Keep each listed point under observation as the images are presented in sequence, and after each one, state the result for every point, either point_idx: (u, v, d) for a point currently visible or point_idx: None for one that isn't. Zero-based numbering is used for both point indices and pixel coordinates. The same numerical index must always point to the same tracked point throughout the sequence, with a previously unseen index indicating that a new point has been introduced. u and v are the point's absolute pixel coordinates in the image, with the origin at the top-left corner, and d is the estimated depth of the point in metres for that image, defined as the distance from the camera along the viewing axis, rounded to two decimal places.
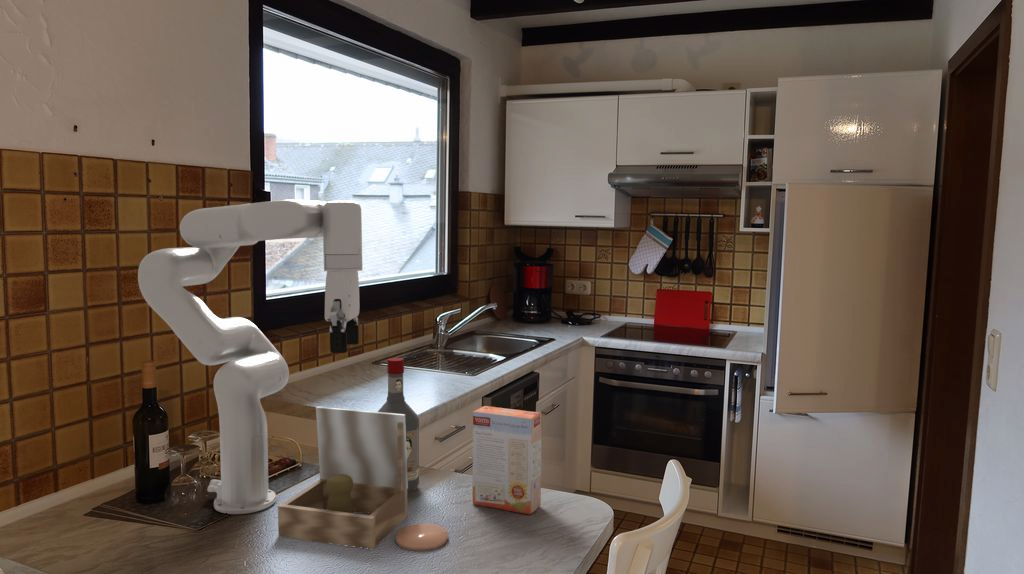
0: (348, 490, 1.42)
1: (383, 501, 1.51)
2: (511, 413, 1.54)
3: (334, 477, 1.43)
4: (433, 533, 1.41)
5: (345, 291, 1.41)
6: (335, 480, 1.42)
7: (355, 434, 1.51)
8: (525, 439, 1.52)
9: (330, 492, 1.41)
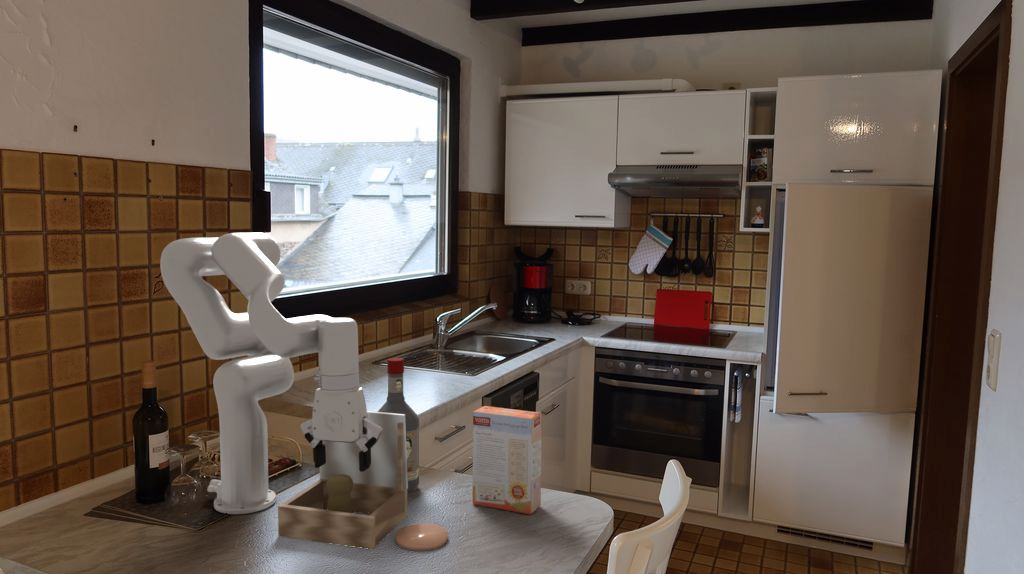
0: (348, 490, 1.42)
1: (383, 501, 1.51)
2: (511, 413, 1.54)
3: (334, 477, 1.43)
4: (433, 533, 1.41)
5: None
6: (334, 480, 1.42)
7: None
8: (525, 439, 1.52)
9: (330, 492, 1.41)
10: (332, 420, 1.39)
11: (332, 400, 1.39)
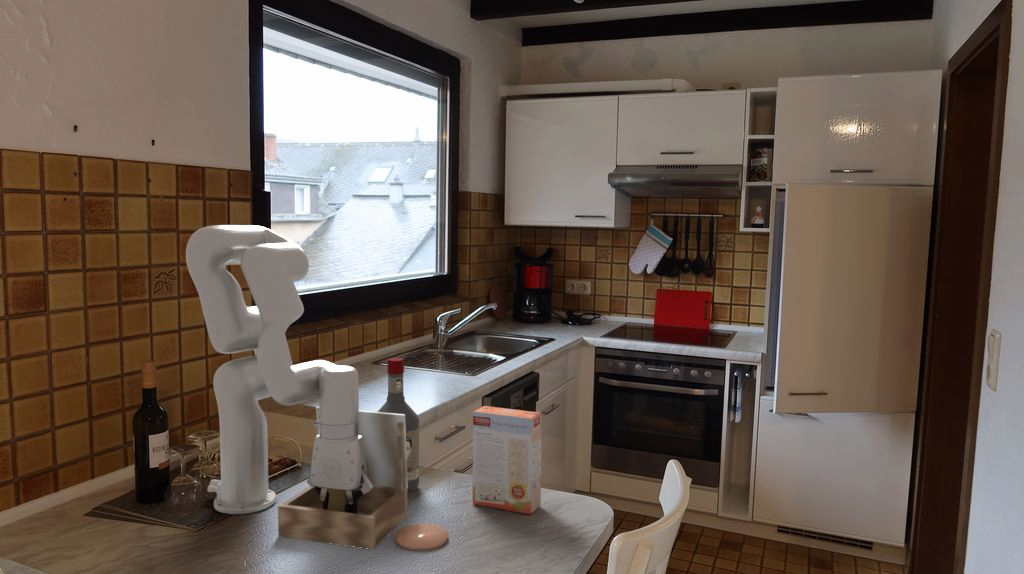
0: None
1: (383, 501, 1.51)
2: (511, 413, 1.54)
3: None
4: (433, 533, 1.41)
5: (364, 455, 1.43)
6: None
7: None
8: (525, 439, 1.52)
9: (330, 492, 1.41)
10: (331, 468, 1.40)
11: (332, 449, 1.40)
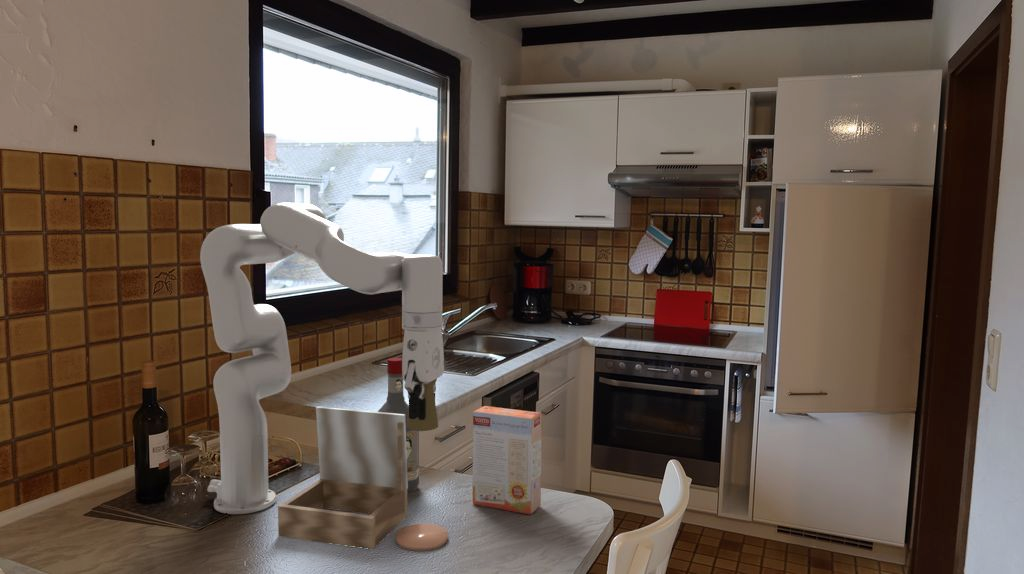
0: None
1: (383, 501, 1.51)
2: (511, 413, 1.54)
3: None
4: (433, 533, 1.41)
5: None
6: None
7: (355, 434, 1.51)
8: (525, 439, 1.52)
9: (432, 384, 1.37)
10: (436, 358, 1.36)
11: (436, 337, 1.36)
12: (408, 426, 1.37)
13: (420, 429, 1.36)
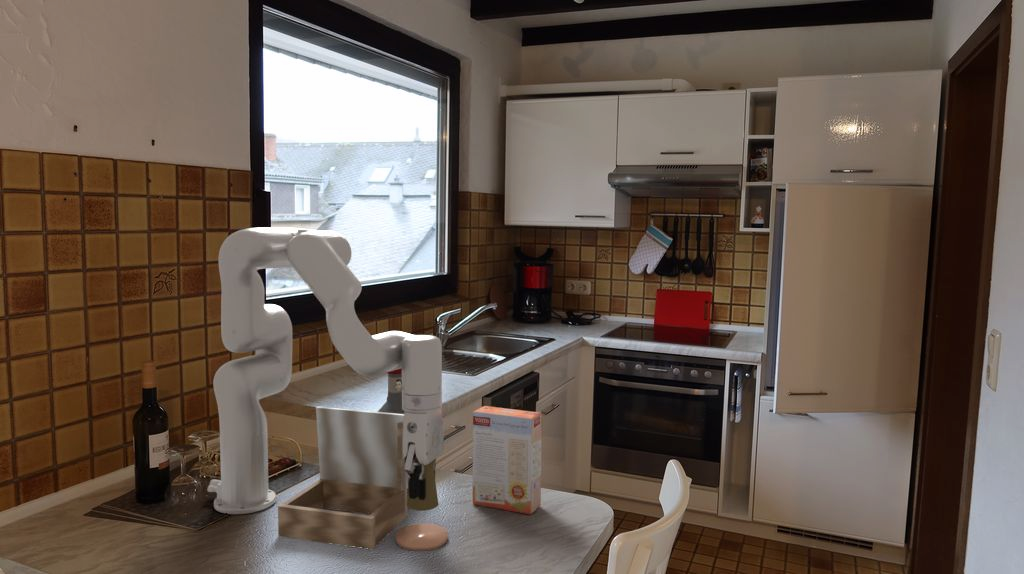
0: None
1: (383, 501, 1.51)
2: (511, 413, 1.54)
3: None
4: (433, 533, 1.41)
5: None
6: None
7: (355, 434, 1.51)
8: (525, 439, 1.52)
9: (432, 463, 1.38)
10: (435, 438, 1.38)
11: (435, 417, 1.38)
12: (408, 505, 1.38)
13: (420, 509, 1.37)
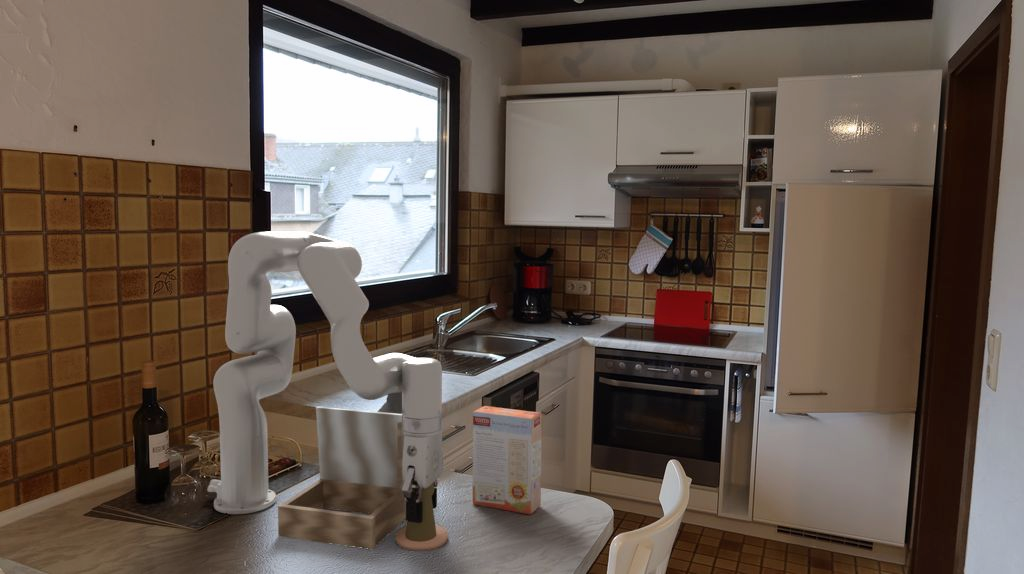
0: None
1: (383, 501, 1.51)
2: (511, 413, 1.54)
3: None
4: None
5: None
6: None
7: (355, 434, 1.51)
8: (525, 439, 1.52)
9: (430, 494, 1.38)
10: (435, 461, 1.38)
11: (435, 440, 1.38)
12: (406, 536, 1.39)
13: (418, 540, 1.37)
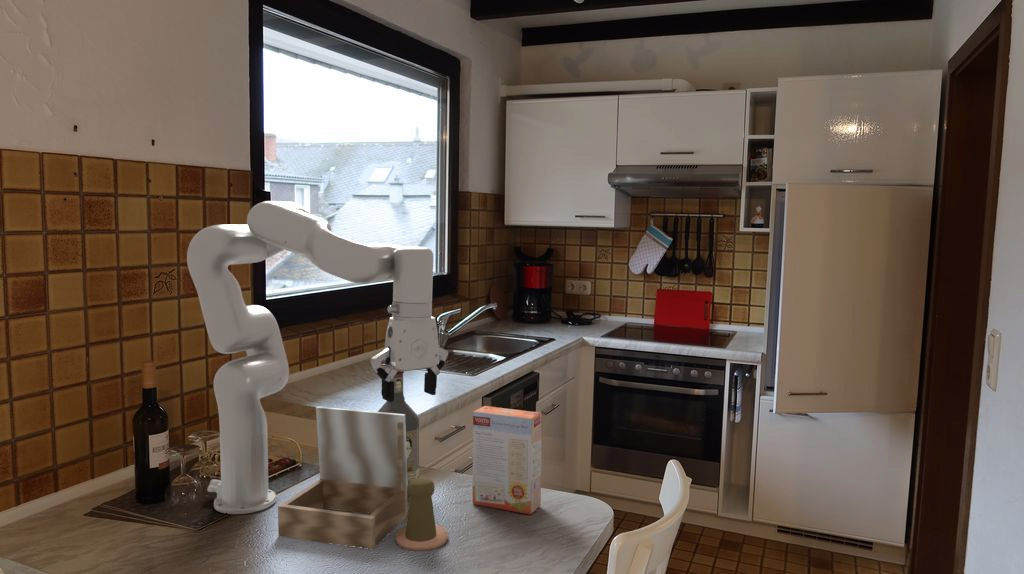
0: None
1: (383, 501, 1.51)
2: (511, 413, 1.54)
3: (423, 481, 1.38)
4: None
5: None
6: (429, 481, 1.39)
7: (355, 434, 1.51)
8: (525, 439, 1.52)
9: (430, 494, 1.38)
10: (418, 348, 1.39)
11: (419, 328, 1.39)
12: (406, 536, 1.39)
13: (418, 540, 1.37)
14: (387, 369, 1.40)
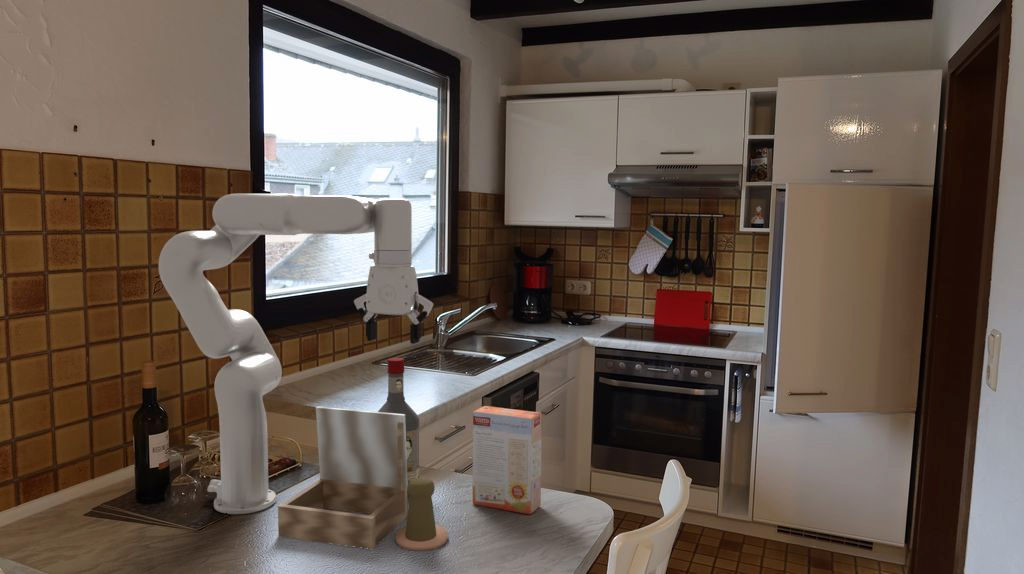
0: None
1: (383, 501, 1.51)
2: (511, 413, 1.54)
3: (423, 481, 1.38)
4: None
5: (417, 284, 1.50)
6: (429, 481, 1.39)
7: (355, 434, 1.51)
8: (525, 439, 1.52)
9: (430, 494, 1.38)
10: (386, 294, 1.47)
11: (387, 274, 1.47)
12: (406, 536, 1.39)
13: (418, 540, 1.37)
14: None
